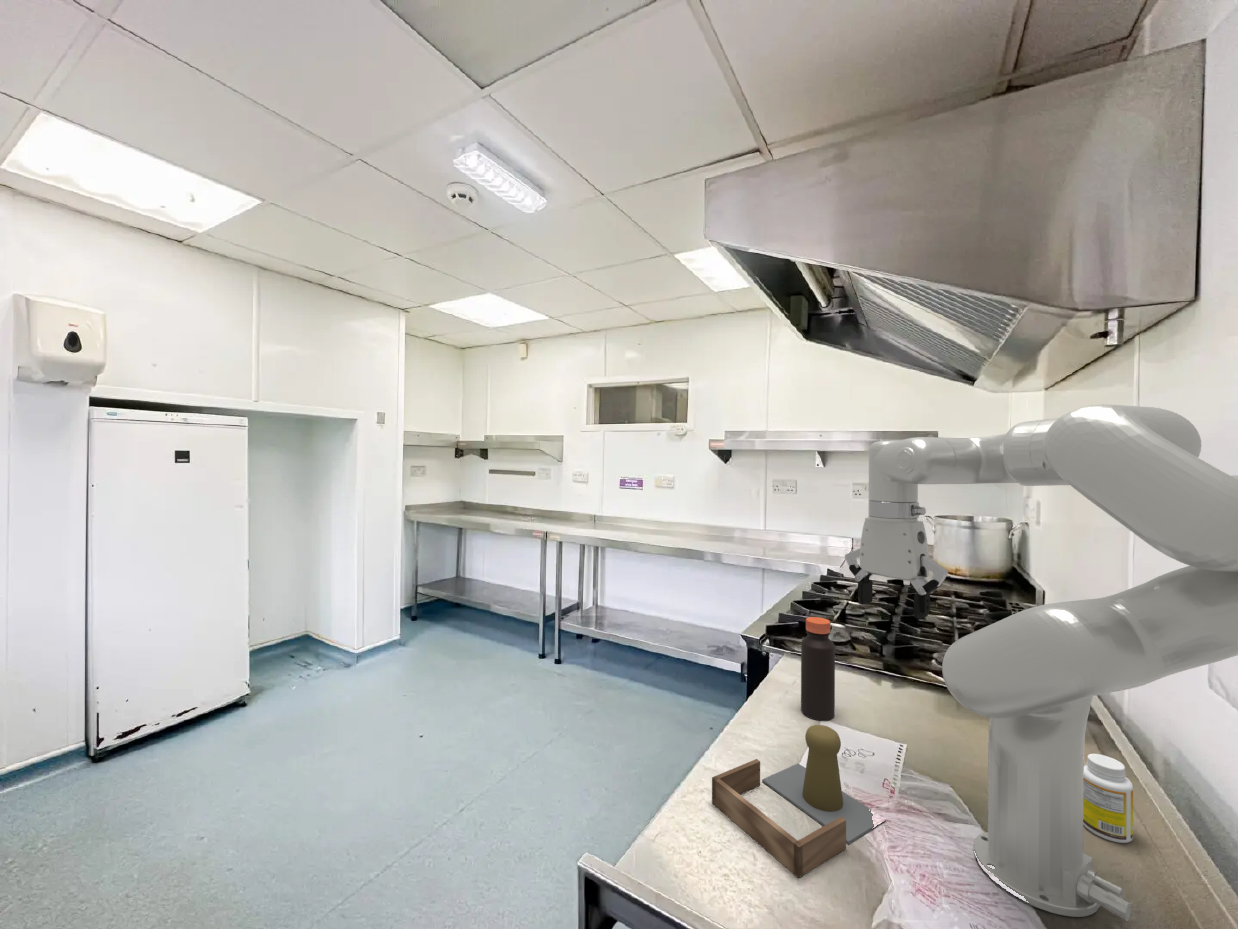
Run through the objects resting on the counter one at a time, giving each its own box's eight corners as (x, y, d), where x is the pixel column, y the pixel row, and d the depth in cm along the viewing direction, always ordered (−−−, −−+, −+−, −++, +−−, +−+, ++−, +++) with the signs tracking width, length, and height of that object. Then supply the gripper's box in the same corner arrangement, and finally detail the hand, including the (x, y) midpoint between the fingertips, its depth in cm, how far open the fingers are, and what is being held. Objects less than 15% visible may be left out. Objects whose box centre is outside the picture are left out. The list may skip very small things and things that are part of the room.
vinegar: (836, 710, 108) (837, 618, 108) (832, 724, 102) (832, 627, 102) (803, 703, 112) (804, 613, 112) (797, 716, 106) (798, 622, 106)
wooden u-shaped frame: (846, 848, 69) (846, 819, 69) (798, 878, 64) (798, 847, 64) (756, 782, 83) (756, 759, 83) (711, 802, 78) (712, 777, 78)
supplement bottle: (1102, 816, 76) (1102, 749, 76) (1144, 844, 70) (1144, 771, 70) (1069, 818, 75) (1069, 751, 75) (1109, 847, 70) (1109, 773, 70)
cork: (835, 787, 82) (836, 720, 82) (849, 813, 76) (849, 740, 76) (797, 785, 82) (798, 718, 82) (808, 810, 76) (808, 738, 76)
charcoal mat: (885, 821, 75) (885, 818, 75) (848, 844, 70) (848, 841, 70) (798, 765, 88) (798, 763, 88) (762, 782, 84) (762, 779, 84)
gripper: (958, 514, 81) (957, 619, 81) (858, 507, 96) (858, 595, 96) (934, 517, 77) (934, 627, 77) (834, 508, 92) (834, 601, 92)
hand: (892, 609), depth 87 cm, fingers open, 9 cm apart
